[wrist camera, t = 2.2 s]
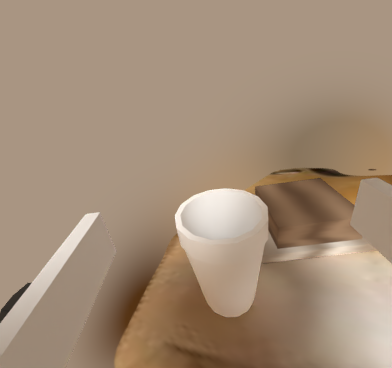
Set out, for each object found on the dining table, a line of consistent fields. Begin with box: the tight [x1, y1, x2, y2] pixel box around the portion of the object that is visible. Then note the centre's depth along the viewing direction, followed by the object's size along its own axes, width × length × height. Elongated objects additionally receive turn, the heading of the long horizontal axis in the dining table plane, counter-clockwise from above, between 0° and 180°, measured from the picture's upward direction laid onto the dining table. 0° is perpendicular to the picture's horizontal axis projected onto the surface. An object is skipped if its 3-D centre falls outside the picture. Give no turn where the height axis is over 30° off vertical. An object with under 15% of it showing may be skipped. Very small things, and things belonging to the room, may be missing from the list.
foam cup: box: [175, 188, 268, 317], centre depth 24 cm, size 10×9×13 cm
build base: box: [255, 178, 377, 264], centre depth 35 cm, size 18×14×6 cm
